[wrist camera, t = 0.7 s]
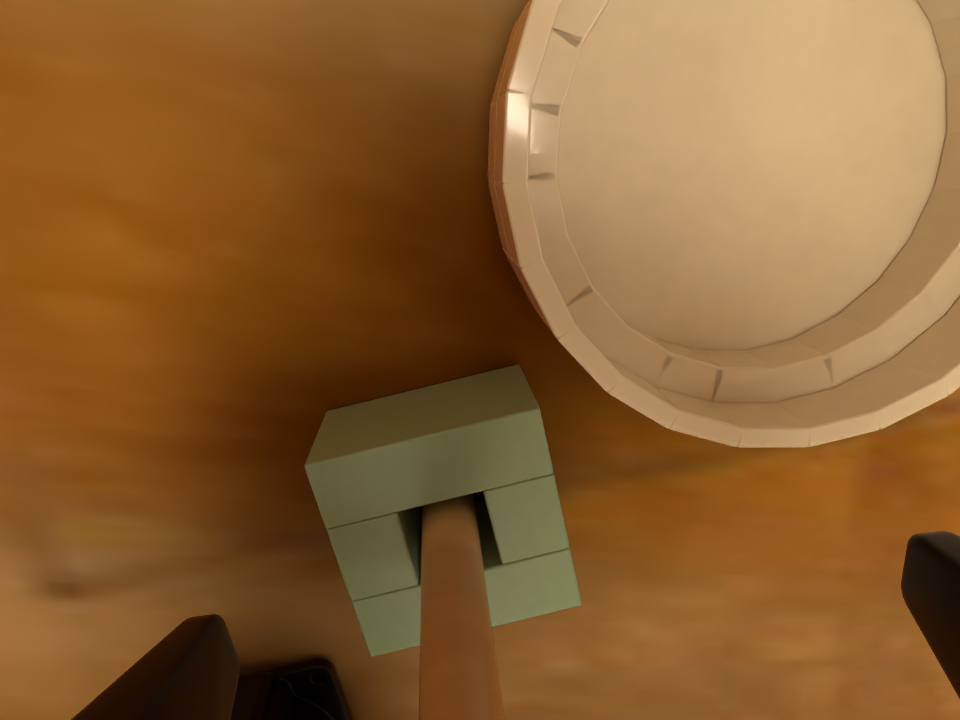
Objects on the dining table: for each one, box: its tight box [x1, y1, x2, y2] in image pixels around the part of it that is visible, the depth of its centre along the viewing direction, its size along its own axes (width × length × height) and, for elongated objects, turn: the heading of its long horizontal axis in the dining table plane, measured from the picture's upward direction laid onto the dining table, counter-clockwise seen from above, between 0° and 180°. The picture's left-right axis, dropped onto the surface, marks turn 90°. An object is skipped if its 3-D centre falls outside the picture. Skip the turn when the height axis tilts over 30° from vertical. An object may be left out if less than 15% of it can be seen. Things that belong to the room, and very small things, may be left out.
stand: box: [304, 364, 582, 657], centre depth 20 cm, size 6×6×4 cm
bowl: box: [487, 0, 960, 447], centre depth 17 cm, size 15×15×4 cm
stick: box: [419, 493, 505, 720], centre depth 17 cm, size 2×2×11 cm
